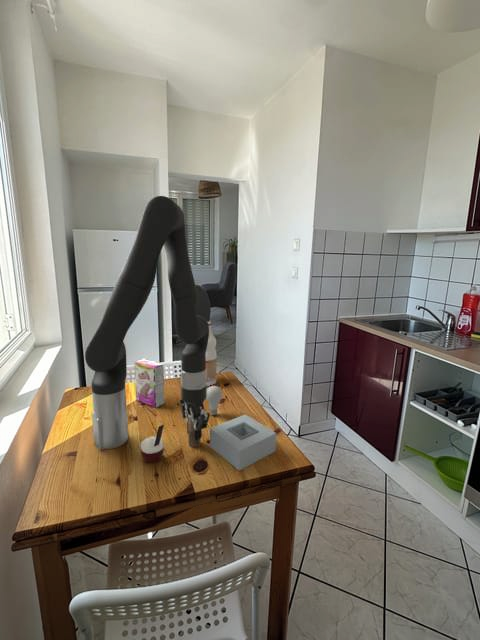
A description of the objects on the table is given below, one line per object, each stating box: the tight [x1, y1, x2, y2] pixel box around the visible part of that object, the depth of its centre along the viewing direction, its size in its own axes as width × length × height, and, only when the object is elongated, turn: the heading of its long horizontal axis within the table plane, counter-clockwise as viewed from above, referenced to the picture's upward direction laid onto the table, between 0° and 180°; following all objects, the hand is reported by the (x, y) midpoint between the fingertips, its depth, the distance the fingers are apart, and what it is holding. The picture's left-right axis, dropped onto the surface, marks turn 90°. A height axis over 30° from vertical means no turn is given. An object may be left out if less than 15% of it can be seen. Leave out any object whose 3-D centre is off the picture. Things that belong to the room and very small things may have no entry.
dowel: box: [188, 414, 201, 448], centre depth 96 cm, size 3×3×10 cm
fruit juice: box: [205, 320, 218, 387], centre depth 140 cm, size 9×9×28 cm
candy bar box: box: [134, 358, 165, 409], centre depth 121 cm, size 11×5×16 cm, turn 58°
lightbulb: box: [205, 385, 223, 416], centre depth 113 cm, size 6×6×11 cm
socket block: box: [209, 413, 277, 471], centre depth 94 cm, size 14×14×6 cm
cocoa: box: [139, 424, 165, 463], centre depth 88 cm, size 10×6×12 cm, turn 26°
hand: (194, 436), depth 96 cm, fingers closed on dowel, 3 cm apart
